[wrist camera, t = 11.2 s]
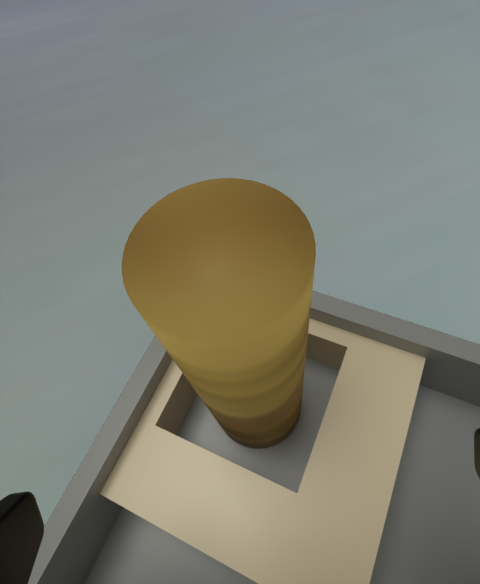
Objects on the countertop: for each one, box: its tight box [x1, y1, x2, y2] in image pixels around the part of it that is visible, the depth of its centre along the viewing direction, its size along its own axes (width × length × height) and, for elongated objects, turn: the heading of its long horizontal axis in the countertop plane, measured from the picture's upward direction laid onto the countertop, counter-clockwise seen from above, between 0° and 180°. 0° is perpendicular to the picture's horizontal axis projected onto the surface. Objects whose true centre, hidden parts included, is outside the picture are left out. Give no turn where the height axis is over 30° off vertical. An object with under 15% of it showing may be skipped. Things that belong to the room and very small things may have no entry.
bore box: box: [28, 291, 480, 584], centre depth 15 cm, size 16×16×5 cm
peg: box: [122, 178, 316, 449], centre depth 14 cm, size 4×4×12 cm
